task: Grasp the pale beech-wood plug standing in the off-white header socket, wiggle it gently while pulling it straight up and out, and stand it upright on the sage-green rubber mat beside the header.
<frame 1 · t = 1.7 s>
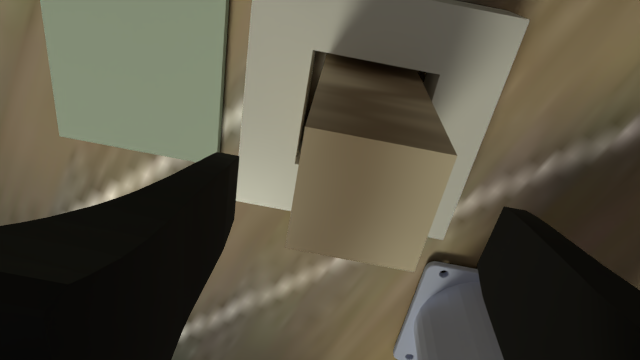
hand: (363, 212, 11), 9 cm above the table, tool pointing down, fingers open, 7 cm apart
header: (362, 102, 20), on the table
mat: (139, 59, 20), on the table
plug: (362, 141, 16), in the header
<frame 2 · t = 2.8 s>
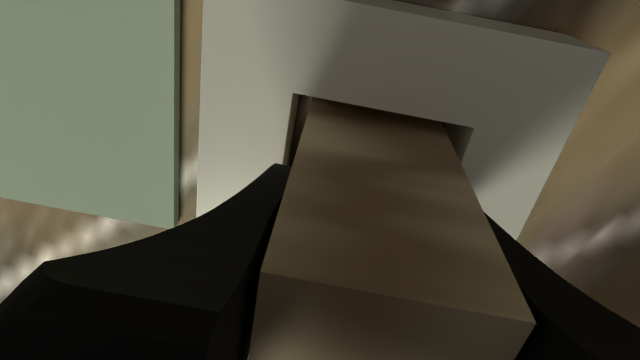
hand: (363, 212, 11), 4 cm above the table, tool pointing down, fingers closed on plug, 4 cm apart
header: (362, 153, 15), on the table
mat: (65, 96, 15), on the table
plug: (364, 227, 11), in the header, touching gripper
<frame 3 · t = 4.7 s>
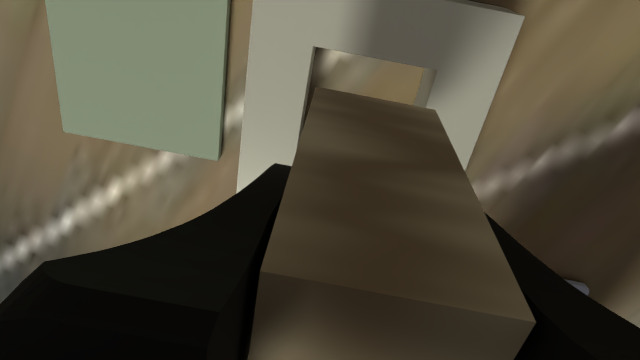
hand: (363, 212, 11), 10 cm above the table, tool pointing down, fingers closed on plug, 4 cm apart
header: (361, 98, 20), on the table
mat: (142, 56, 20), on the table
plug: (363, 226, 11), point 10 cm above the table, touching gripper
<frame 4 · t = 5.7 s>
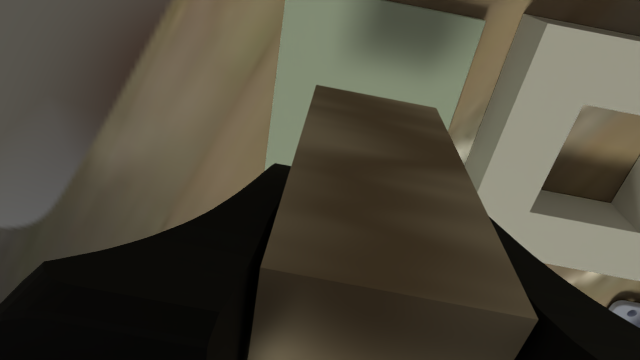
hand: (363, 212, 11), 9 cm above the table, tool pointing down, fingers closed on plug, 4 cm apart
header: (585, 148, 20), on the table
mat: (362, 104, 19), on the table
plug: (364, 224, 11), point 10 cm above the table, touching gripper
when the fingers open (6 cm above the table, at t = 6.6 s): plug drops 1 cm, resting on mat.
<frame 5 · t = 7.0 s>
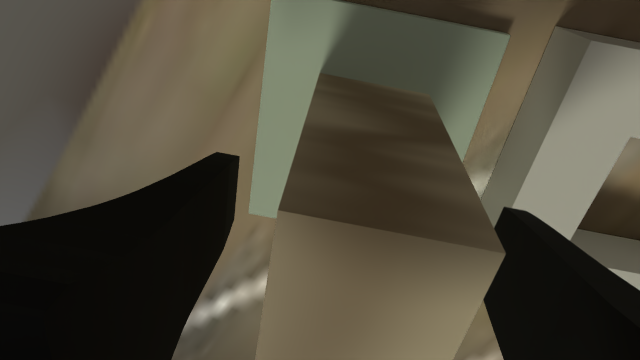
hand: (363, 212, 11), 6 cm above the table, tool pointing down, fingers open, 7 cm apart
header: (622, 181, 17), on the table
mat: (362, 131, 17), on the table
plug: (363, 195, 12), on the mat
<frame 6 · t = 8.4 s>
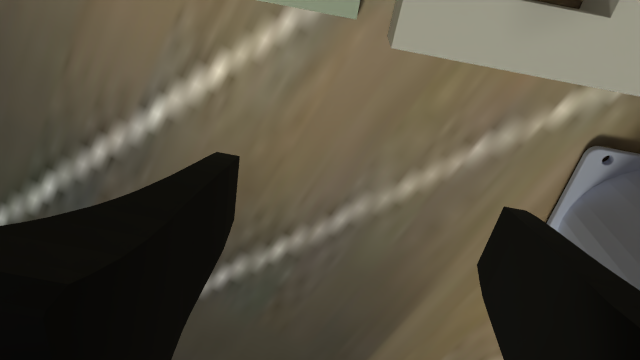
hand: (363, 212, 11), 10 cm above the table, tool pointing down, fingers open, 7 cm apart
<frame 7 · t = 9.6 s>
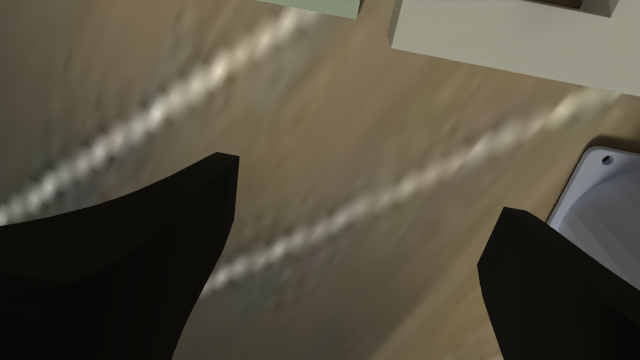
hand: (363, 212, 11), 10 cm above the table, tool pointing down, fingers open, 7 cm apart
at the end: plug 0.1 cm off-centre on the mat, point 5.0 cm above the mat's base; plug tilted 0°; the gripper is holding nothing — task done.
